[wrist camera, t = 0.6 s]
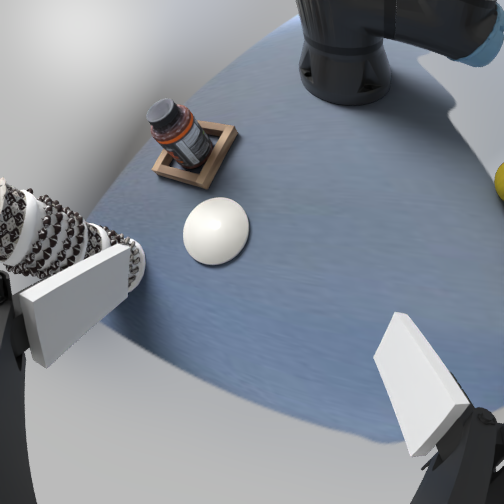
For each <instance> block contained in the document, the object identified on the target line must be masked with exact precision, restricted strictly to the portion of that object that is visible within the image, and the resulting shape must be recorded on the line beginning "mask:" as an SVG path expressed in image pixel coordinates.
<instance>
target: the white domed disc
mask: <svg viewBox="0 0 504 504" xmlns="http://www.w3.org/2000/svg"><path fill="white" fill-rule="evenodd" d="M248 235H249V221H248V217H247V215H246V213H245V211H244V210H243V209H242V207H241V206H240V205H239V204H238V203H236V202H235V201H233V200H231V199H228V198H223V197H217V198H212V199H208V200H206V201H204V202H202V203H201V204H199V205H198V206H197V207H196V208H195V209H194V210H193V211H192V212H191V213H190V215H189V216H188V218H187V220H186V223H185V226H184V231H183V239H184V244H185V247H186V249H187V251H188V253H189V254H190V255H191V256H192V257H193V258H194V259H195V260H197V261H199V262H201V263H204V264H207V265H219V264H223V263H226V262H228V261H230V260H231V259H233V258H234V257H236V256H237V255H238V254H239V253H240V252H241V250H242V249H243V247H244V246H245V244H246V241H247V239H248Z"/></svg>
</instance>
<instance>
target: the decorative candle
mask: <svg viewBox="0 0 504 504" xmlns="http://www.w3.org/2000/svg"><path fill="white" fill-rule="evenodd" d="M53 207H54V208H53ZM116 244H122V245H125V246H129V247H131V249H130V262H129V278H128V292H131V291H132V290H133V289H134V288H136V287H137V286H138V285H139V283H140V281H141V279H142V277H143V275H144V271H145V265H146V261H145V253H144V251H143V249H142V247H141V245H140V244H139V243H137V242H136V241H135V240H133V239H130V238H129V237H127V238H126V239H124V235H123V234H120V235H119V234H117V233H116V232H115V231H114V230H111V231H110V230H109V229H108V227H106V226H104V227H102V226H100V225H99V226H97V225H95V224H89V223H87V222H86V221H85V220H84V219H83V217H82V216H80V215H79V214H78V212H75V213H74V212H73V211H71V210H70V208H69V207H66V208H62V205H61V204H59V202H58V201H57V200H55V201H52V200H51V199H50V198H49V196H48V195H44V196H40V197H39V198H38V199H36V198H35V197H34V196H33V190H32V189H31V188H30V189H28V190H27V191H25V190H20V191H19V190H18V189H16V188H15V187H13V186H9V185H8V184H6V180H5V179H4V177H3V178H0V262H1V263H3V264H4V265H5V266H6V269H7V271H8V272H11V271H12V272H13V273H14V274H18V273H19V274H21V273H22V274H23V275H24V276H28V275H29V274H31V275H32V276H36V275H37V277H38V278H40V279H42V278H45V277H47V276H50V275H54V274H57V273H59V272H61V271H63V270H65V269H66V268H68V267H70V266H72V265H74V264H76V263H78V262H80V261H82V260H84V259H86V258H88V257H90V256H93V255H95V254H97V253H99V252H101V251H103V250H105V249H107V248H109V247H111V246H113V245H116ZM13 266H14V267H13ZM26 269H27V270H26Z"/></svg>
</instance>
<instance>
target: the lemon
mask: <svg viewBox="0 0 504 504" xmlns="http://www.w3.org/2000/svg"><path fill="white" fill-rule="evenodd" d="M494 183H495V189H496V191H497V194H498V195H499V197H500V198H501V199H502V200H503V201H504V163H503V164H502V165H501V166H500V167H499V168H498V170H497V172H496V175H495V180H494Z"/></svg>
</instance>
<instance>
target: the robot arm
mask: <svg viewBox="0 0 504 504" xmlns="http://www.w3.org/2000/svg"><path fill="white" fill-rule="evenodd" d="M496 1H497V0H397V3H396V0H296V3H297V7H298V11H299V16H300V20H301V25H302V29H303V34H304V39H305V41H304V45H303V49H302V53H301V58H300V62H299V71H300V76H301V80H302V83H303V85H304V86H305V87H306V89H307V90H308V91H310V92H311V93H312V94H314V95H315V96H317V97H319V98H321V99H323V100H326V101H328V102H332V103H336V104H341V105H363V104H368V103H372V102H374V101H377V100H379V99H380V98H382V97H383V96H384V95H385V94H386V93H387V92H388V90H389V88H390V82H391V69H390V65H389V62H388V59H387V56H386V53H385V50H384V47H383V38H387V39H391V40H395V41H399V42H403V43H406V44H410V45H413V46H417V47H420V48H423V49H426V50H429V51H432V52H435V53H438V54H441V55H444V56H446V57H447V58H449V59H450V60H453V61H458V62H462V63H464V64H467V65H470V66H473V67H483V66H486V65H488V64H489V63H490V62H491V61H492V60H493V59H494V58H495V57H496V56H497V54H498V52H499V51H500V48H501V46H502V44H503V40H504V34H503V32H504V11H503V9H502V7H501V6H500V5H499V4H498V3H497V2H496ZM395 23H396V26H395ZM130 249H131V247H129V246H125V245H122V244H116V245H113V246H111V247H109V248H107V249H105V250H103V251H101V252H99V253H97V254H95V255H93V256H90V257H88V258H86V259H84V260H82V261H80V262H78V263H76V264H74V265H72V266H70V267H68V268H66V269H65V270H63V271H61V272H59V273H57V274H54V275H50V276H47V277H45V278H43V279H42V280H40V281H38V282H36V283H34V285H30V286H29V287H27V288H25V289H23V290H21V291H20V292H18V293H16V294H14V295H12V293H11V286H10V278H9V274H8V273H7V272H5V271H1V270H0V504H37V502H36V498H35V493H34V488H33V483H32V478H31V472H30V467H29V459H28V451H27V442H26V431H25V430H26V429H25V407H24V406H25V404H24V391H25V390H24V389H25V365H26V357H25V353H24V351H26V350H27V349H28V348H29V347H30V350H31V354H32V358H33V360H34V361H36V362H37V363H39V364H40V365H42V366H43V367H45V368H48V367H49V366H50V365H51V364H52V363H53V362H54V361H56V360H57V359H58V358H59V357H60V356H61V355H62V354H63V353H64V352H65V351H66V350H68V349H69V348H70V347H71V346H72V345H73V344H74V343H75V342H77V341H78V340H79V339H80V338H81V337H82V336H83V335H84V334H85V333H87V332H88V331H89V330H90V329H91V328H92V327H93V326H95V325H96V324H97V323H98V322H99V321H100V320H101V319H103V318H104V317H105V316H106V315H107V314H108V313H110V312H111V311H112V310H113V309H114V308H115V307H117V306H118V305H119V304H120V303H121V302H123V301H124V300H125V299H126V298H127V297H128V278H129V262H130ZM373 358H374V360H375V362H376V365H377V367H378V370H379V372H380V375H381V377H382V380H383V382H384V385H385V387H386V390H387V392H388V395H389V397H390V400H391V403H392V405H393V408H394V411H395V413H396V416H397V419H398V422H399V424H400V427H401V430H402V433H403V436H404V439H405V442H406V445H407V448H408V450H409V454H410V456H411V457H416V456H424V455H427V454H428V453H429V452H430V451H431V449H432V448H433V447H434V446H435V445H436V447H437V449H438V452H437V453H436V454H435V455H434V456H433V457H432V458H431V459H430V460H429V461H428V462H427V463H426V464H425V465H424V466H423V467H422V468H421V470H424V469H425V468H426V467H428V466H429V467H428V469H427V471H426V473H425V476H424V478H423V480H422V482H421V484H420V486H419V488H418V490H417V492H416V494H415V496H414V497H413V499H412V501H411V503H410V504H504V466H503V467H502V468H501V469H500V470H499V471H497V472H496V466H498V465H499V464H500V463H501V462H502V461H503V460H504V424H502V423H497V421H496V418H495V417H494V415H493V414H492V413H491V412H490V411H488V410H487V409H484V408H480V407H477V408H474V406H473V404H472V403H471V401H470V400H469V398H468V396H467V395H466V393H465V392H464V390H463V389H461V388H462V387H461V386H460V384H459V383H457V380H456V378H455V377H454V375H453V374H452V373H451V372H450V371H449V370H448V369H447V368H446V366H445V365H444V364H443V362H442V361H441V359H440V358H439V356H438V355H437V354H436V352H435V351H434V349H433V348H432V347H431V345H430V344H429V343H428V341H427V340H426V338H425V337H424V336H423V334H422V333H421V332H420V330H419V329H418V328H417V327H416V325H415V324H414V323H413V321H412V320H411V319H410V317H409V316H408V315H407V314H403V313H398V312H394V315H393V317H392V319H391V322H390V324H389V326H388V328H387V330H386V332H385V335H384V337H383V339H382V341H381V343H380V345H379V347H378V349H377V351H376V353H375V355H374V357H373Z"/></svg>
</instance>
